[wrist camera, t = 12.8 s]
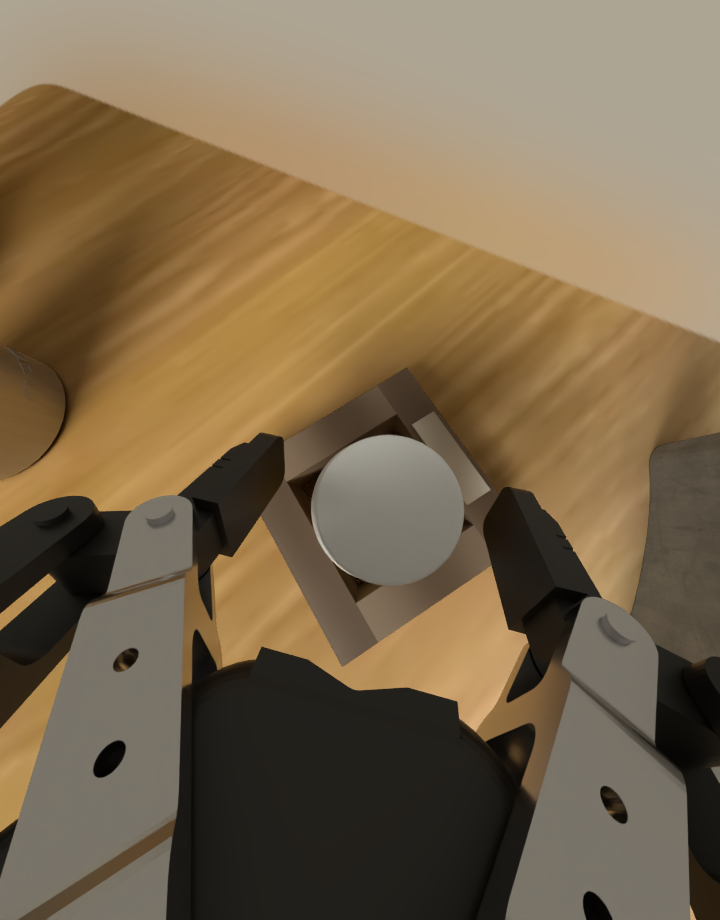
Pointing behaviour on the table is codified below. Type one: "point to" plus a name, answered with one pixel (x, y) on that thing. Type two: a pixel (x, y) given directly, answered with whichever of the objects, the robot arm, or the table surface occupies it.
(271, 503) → the socket block
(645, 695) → the robot arm
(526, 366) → the table surface
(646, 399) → the table surface
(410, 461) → the supplement bottle
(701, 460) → the hip flask
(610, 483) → the table surface
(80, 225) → the table surface
